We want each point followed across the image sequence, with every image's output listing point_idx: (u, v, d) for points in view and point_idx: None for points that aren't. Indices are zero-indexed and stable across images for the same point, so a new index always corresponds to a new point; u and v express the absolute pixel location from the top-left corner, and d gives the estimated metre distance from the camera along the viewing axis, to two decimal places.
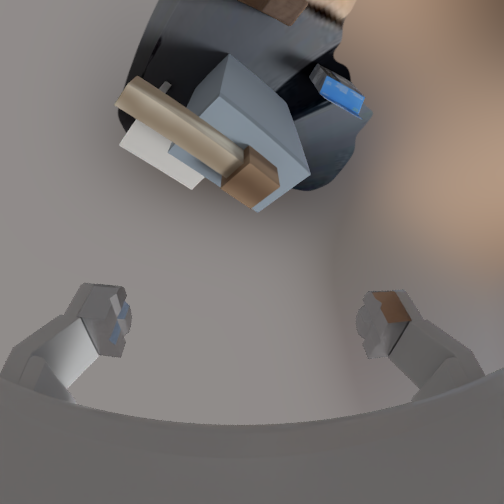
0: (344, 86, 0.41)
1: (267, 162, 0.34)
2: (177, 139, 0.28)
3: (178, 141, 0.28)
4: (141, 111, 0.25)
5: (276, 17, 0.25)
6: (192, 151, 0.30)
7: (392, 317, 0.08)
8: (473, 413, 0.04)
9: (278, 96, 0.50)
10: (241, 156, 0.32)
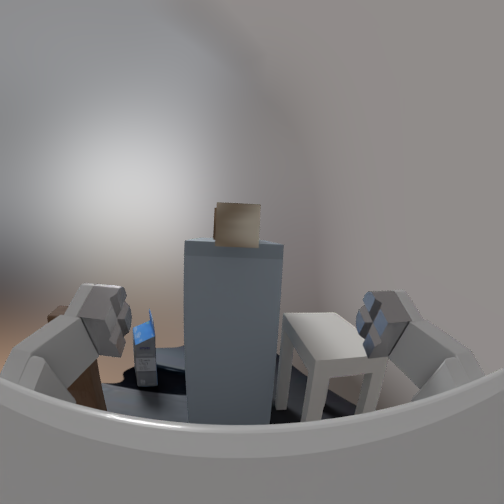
0: (135, 336, 0.45)
1: None
2: None
3: None
4: None
5: None
6: None
7: (392, 317, 0.08)
8: (473, 413, 0.04)
9: None
10: None
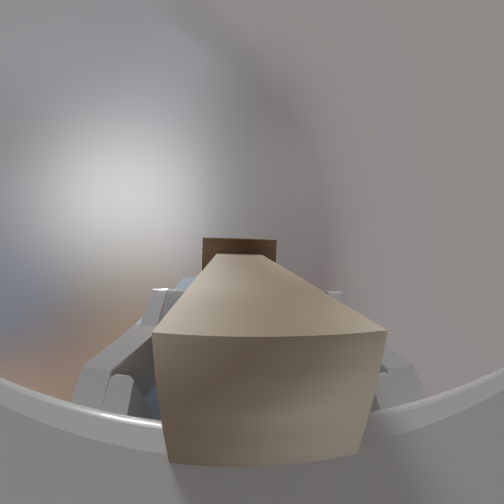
0: None
1: None
2: (266, 265, 0.12)
3: (270, 265, 0.12)
4: (273, 288, 0.06)
5: None
6: (264, 260, 0.14)
7: None
8: (473, 413, 0.04)
9: None
10: None
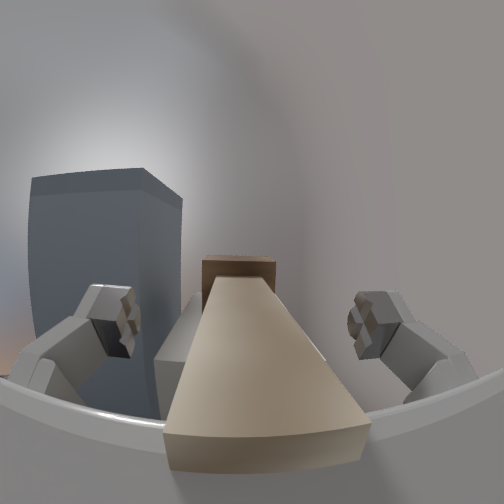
0: None
1: None
2: (265, 301, 0.12)
3: (269, 300, 0.12)
4: (271, 351, 0.06)
5: None
6: (264, 291, 0.14)
7: (383, 318, 0.08)
8: (473, 413, 0.04)
9: None
10: None
